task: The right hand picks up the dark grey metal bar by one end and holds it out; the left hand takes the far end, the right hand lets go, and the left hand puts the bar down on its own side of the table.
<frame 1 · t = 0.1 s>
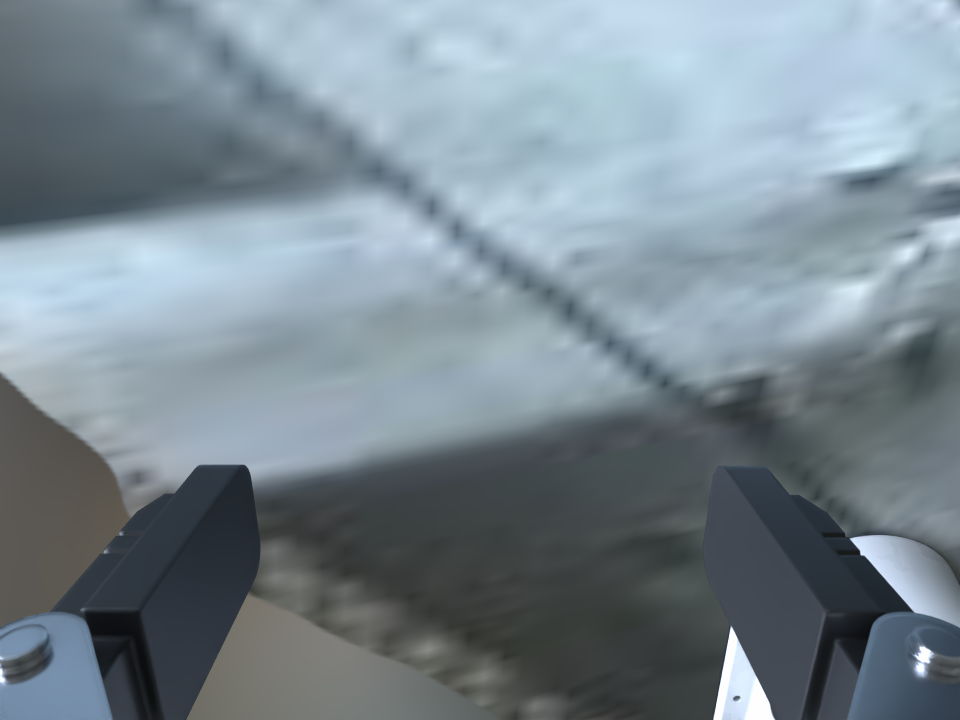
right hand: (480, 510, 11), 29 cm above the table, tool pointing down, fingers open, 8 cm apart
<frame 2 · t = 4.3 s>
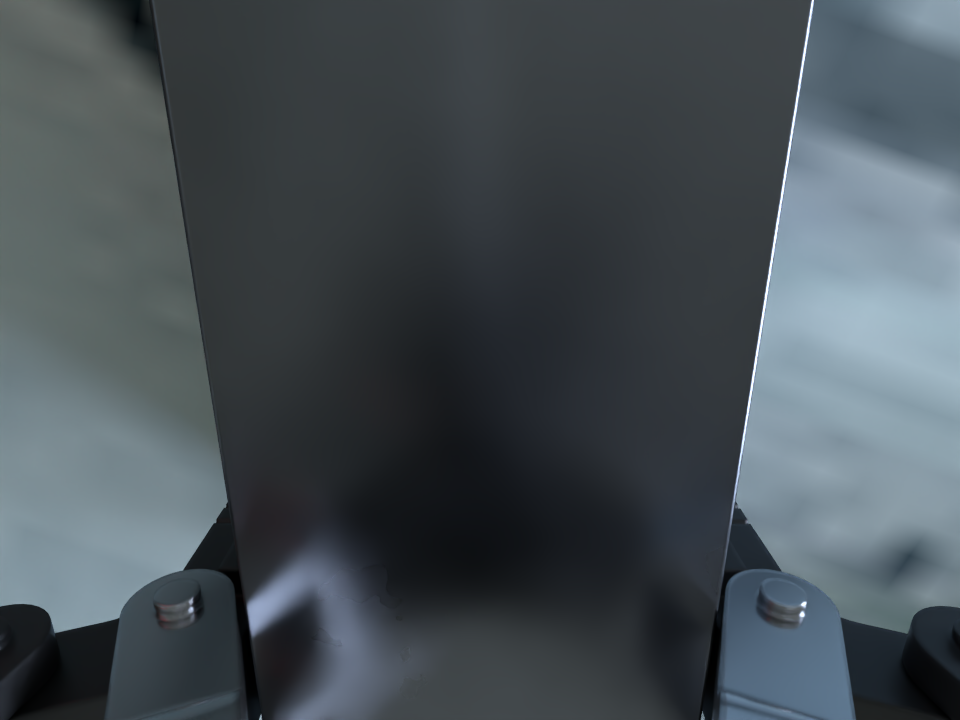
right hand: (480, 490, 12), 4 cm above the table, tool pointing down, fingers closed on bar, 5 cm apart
bar: (481, 4, 13), on the table, touching right hand
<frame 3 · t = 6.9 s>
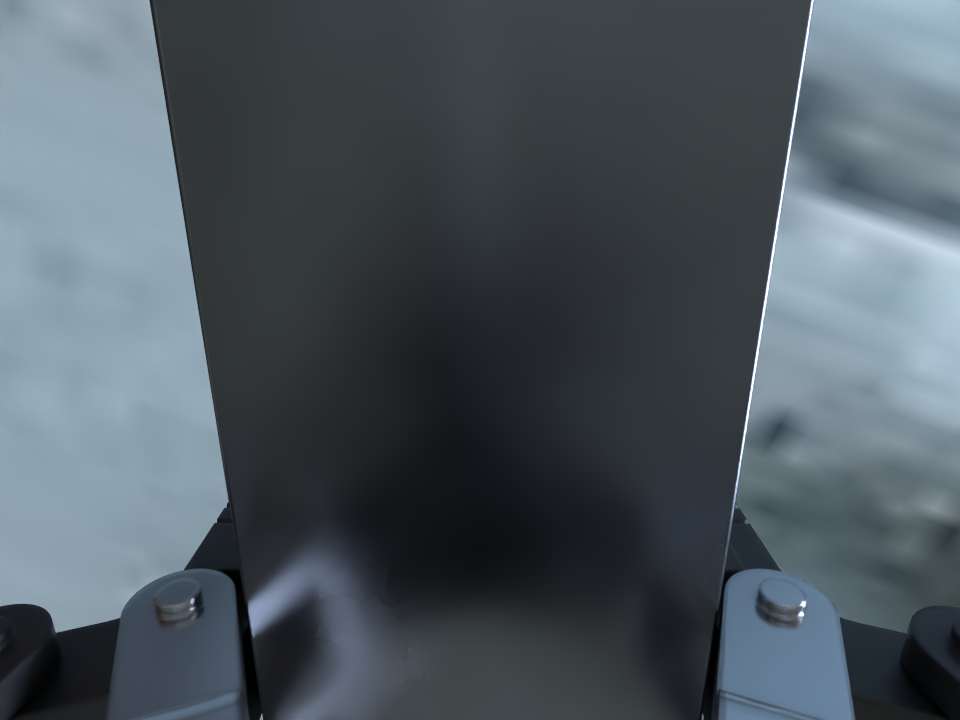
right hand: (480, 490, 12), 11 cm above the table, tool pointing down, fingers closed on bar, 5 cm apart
bar: (481, 3, 13), point 7 cm above the table, touching right hand
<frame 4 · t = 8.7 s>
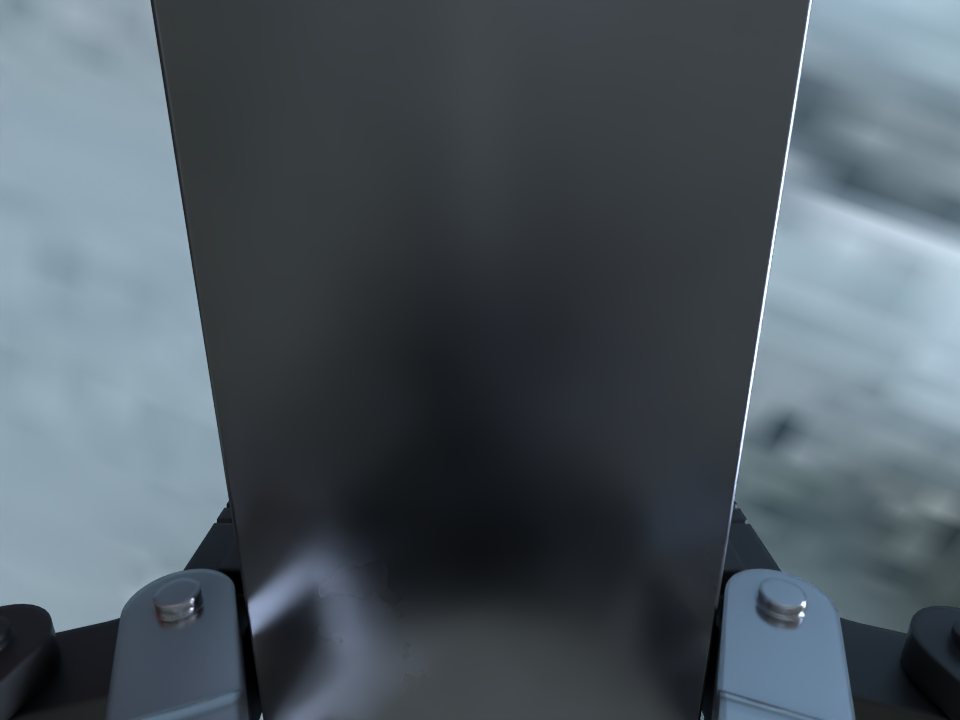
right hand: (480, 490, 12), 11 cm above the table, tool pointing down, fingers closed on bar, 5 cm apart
bar: (480, 3, 13), point 7 cm above the table, touching right hand, left hand
when the right hand's fingers open (11 cm above the table, at t = 9.8 s): bar stays where it is, held by the left hand.
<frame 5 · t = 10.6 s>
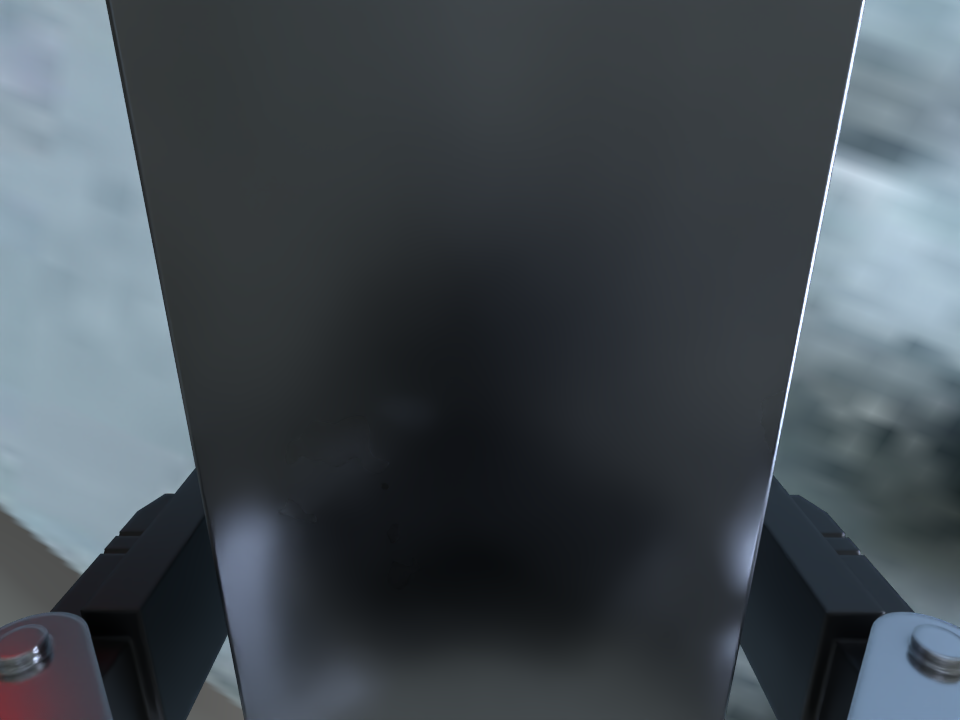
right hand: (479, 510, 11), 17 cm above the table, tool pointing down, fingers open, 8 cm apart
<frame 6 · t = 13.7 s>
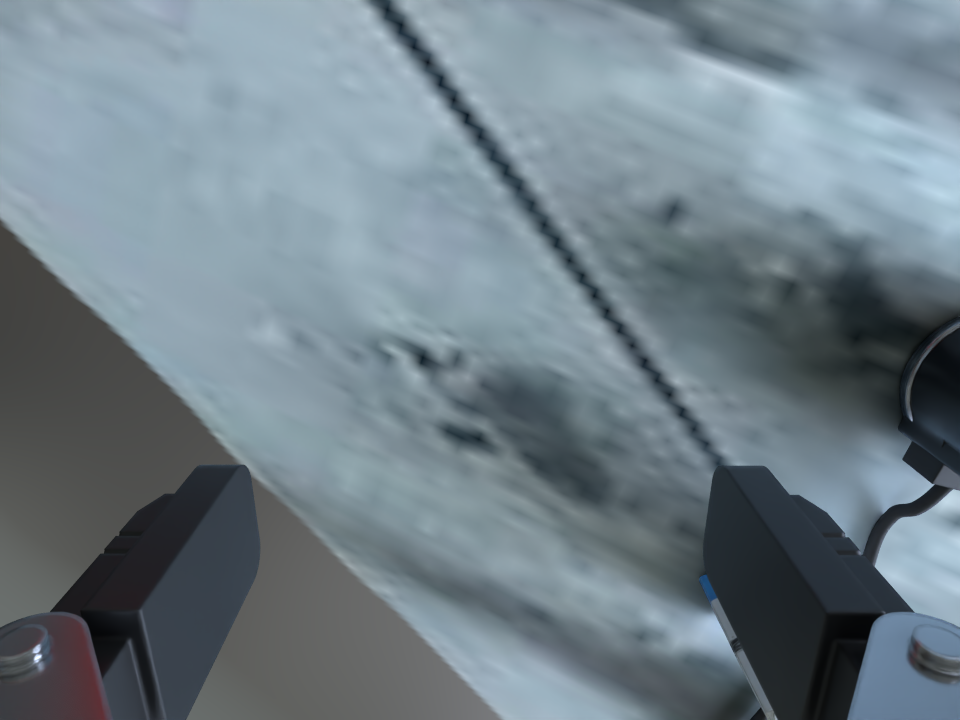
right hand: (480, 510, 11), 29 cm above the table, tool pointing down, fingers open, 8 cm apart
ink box: (762, 574, 47), on the table
when the left hand's fingers open (4 cm above the table, at t = 18.8 s): bar stays where it is, on the table.
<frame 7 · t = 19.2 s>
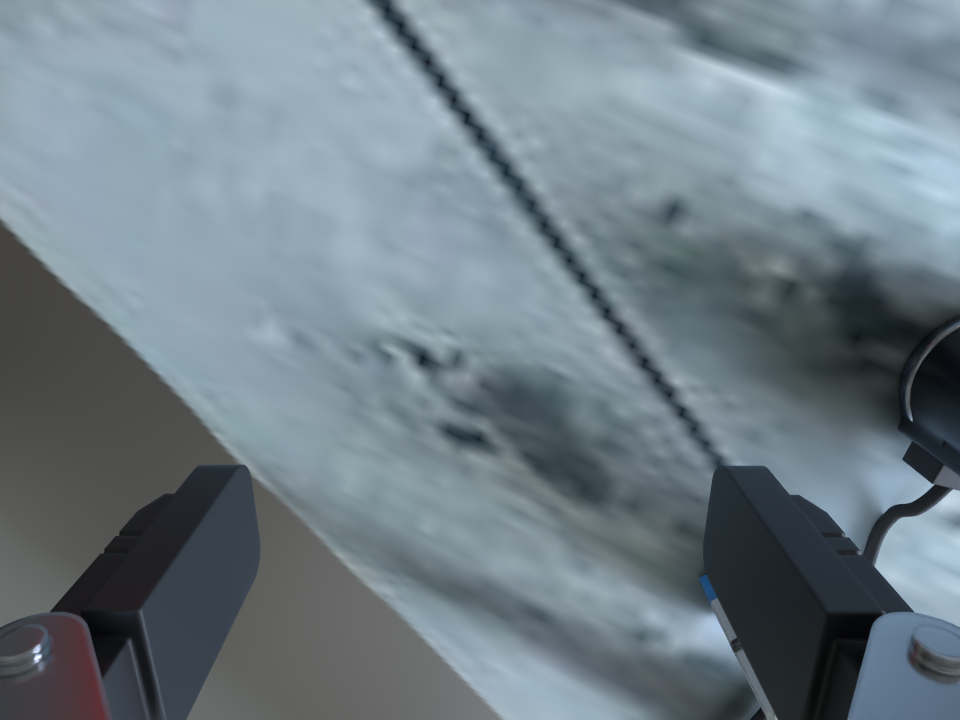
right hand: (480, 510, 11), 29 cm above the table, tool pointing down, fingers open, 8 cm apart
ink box: (762, 574, 47), on the table
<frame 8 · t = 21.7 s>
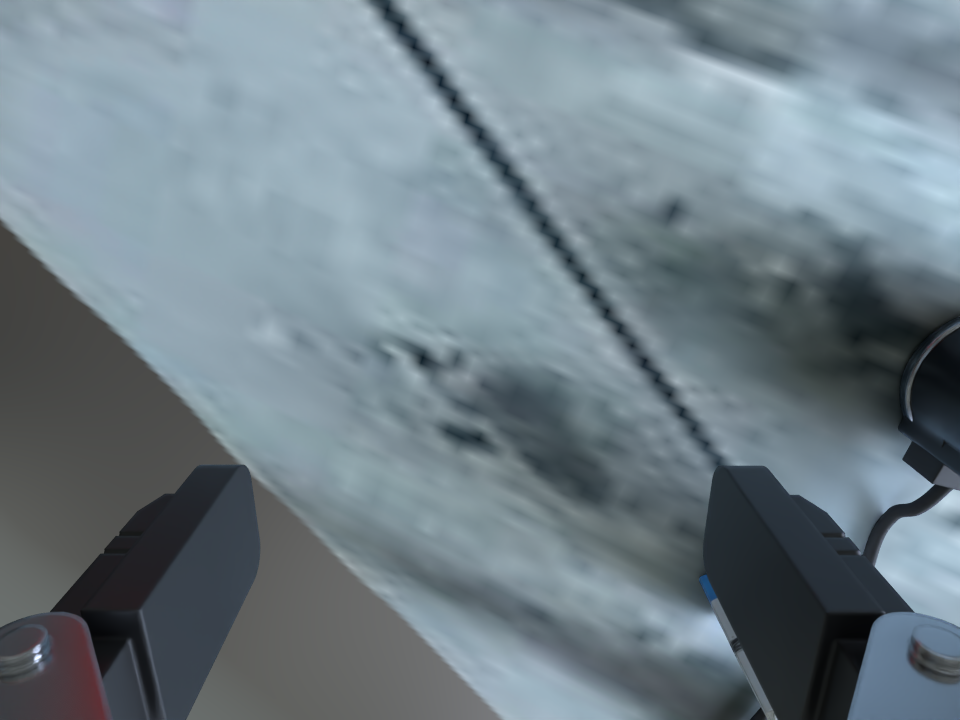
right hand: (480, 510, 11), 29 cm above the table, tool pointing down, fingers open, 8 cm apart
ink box: (762, 574, 47), on the table
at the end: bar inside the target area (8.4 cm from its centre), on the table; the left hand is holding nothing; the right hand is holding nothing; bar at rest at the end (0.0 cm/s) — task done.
